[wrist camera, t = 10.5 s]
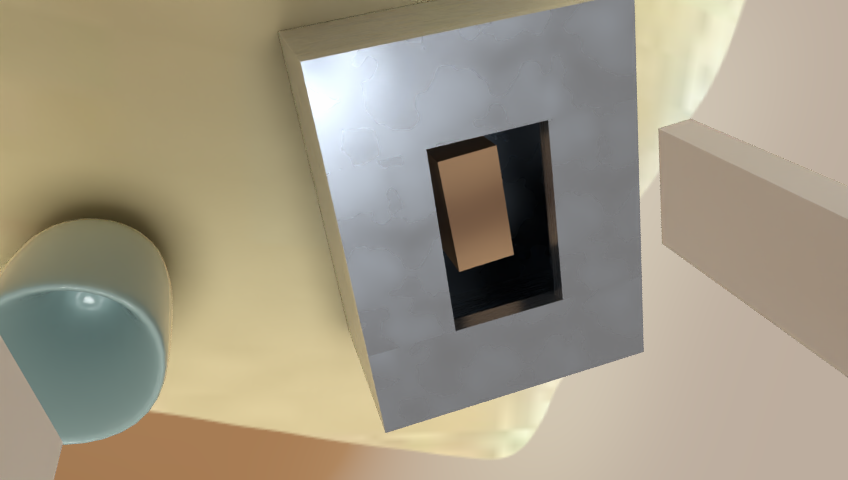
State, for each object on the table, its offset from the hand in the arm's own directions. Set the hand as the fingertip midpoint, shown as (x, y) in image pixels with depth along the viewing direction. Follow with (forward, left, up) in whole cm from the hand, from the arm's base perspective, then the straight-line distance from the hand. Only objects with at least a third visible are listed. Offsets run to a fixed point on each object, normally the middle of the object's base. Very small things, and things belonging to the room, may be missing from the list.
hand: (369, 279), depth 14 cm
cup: (+8, -11, -25) cm, 29 cm away
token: (+8, +8, -24) cm, 27 cm away
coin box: (+7, +8, -25) cm, 27 cm away
